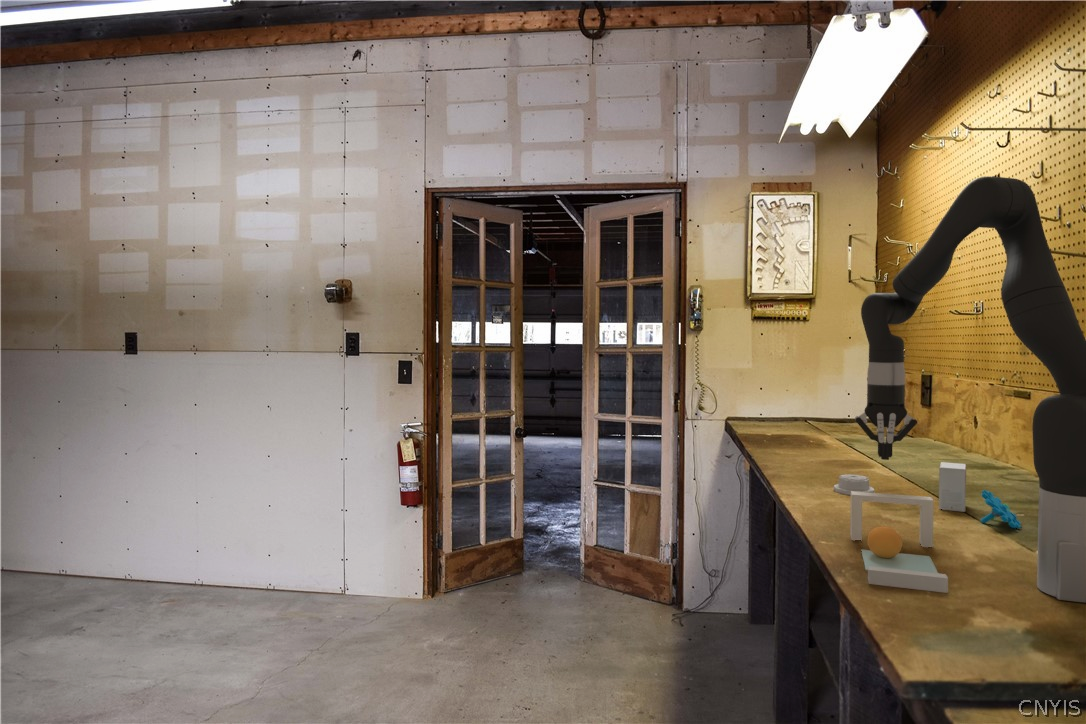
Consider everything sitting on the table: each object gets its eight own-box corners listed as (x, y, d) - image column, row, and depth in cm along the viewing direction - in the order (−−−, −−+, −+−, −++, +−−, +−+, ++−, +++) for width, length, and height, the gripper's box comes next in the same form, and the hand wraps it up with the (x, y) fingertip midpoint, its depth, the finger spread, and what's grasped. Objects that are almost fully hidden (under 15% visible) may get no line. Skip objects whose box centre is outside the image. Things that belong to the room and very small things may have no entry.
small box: (965, 512, 161) (966, 469, 161) (938, 509, 164) (939, 467, 164) (965, 505, 168) (966, 463, 168) (939, 502, 171) (940, 461, 171)
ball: (902, 535, 133) (903, 564, 129) (868, 533, 136) (869, 562, 132) (900, 521, 129) (902, 551, 125) (865, 520, 132) (866, 549, 128)
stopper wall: (947, 593, 113) (948, 578, 113) (868, 583, 117) (868, 569, 117) (945, 588, 115) (945, 574, 115) (867, 579, 119) (867, 565, 119)
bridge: (932, 547, 136) (933, 500, 136) (851, 540, 142) (851, 494, 141) (930, 543, 139) (931, 496, 138) (850, 536, 144) (850, 491, 144)
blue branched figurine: (1017, 527, 144) (980, 488, 149) (993, 542, 147) (958, 504, 152) (1029, 524, 151) (994, 487, 157) (1006, 538, 154) (973, 502, 160)
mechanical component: (881, 496, 179) (862, 488, 189) (881, 480, 178) (863, 472, 188) (843, 497, 179) (827, 488, 189) (844, 480, 178) (827, 473, 188)
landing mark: (940, 578, 119) (940, 577, 119) (865, 570, 124) (865, 569, 124) (929, 557, 130) (929, 556, 130) (861, 550, 135) (861, 549, 135)
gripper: (854, 383, 150) (853, 460, 150) (921, 384, 145) (920, 464, 146) (852, 380, 157) (851, 454, 157) (916, 381, 152) (915, 457, 153)
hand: (885, 459), depth 151 cm, fingers closed
